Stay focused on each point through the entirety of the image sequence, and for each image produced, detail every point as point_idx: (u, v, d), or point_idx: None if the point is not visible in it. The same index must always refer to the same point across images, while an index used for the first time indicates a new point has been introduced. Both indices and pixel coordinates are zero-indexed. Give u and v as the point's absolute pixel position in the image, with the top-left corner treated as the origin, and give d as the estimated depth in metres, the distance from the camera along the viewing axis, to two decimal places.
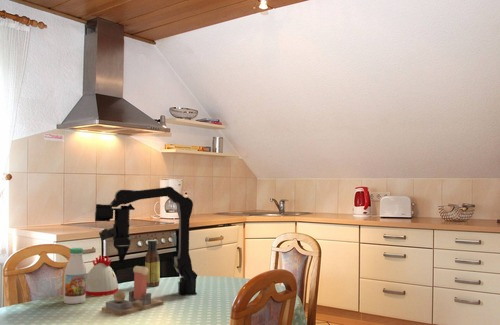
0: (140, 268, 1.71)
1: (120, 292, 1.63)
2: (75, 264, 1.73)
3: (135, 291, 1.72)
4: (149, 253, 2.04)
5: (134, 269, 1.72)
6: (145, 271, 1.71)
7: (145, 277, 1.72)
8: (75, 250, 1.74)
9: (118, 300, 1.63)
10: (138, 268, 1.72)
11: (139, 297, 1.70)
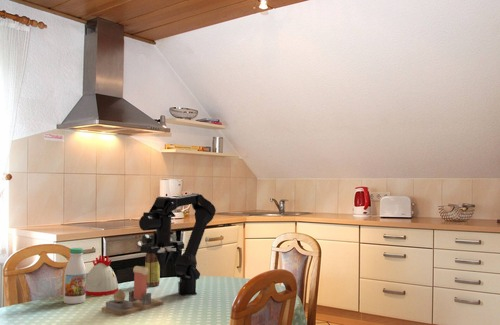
0: (140, 268, 1.71)
1: (120, 292, 1.63)
2: (75, 264, 1.73)
3: (135, 291, 1.72)
4: None
5: (134, 269, 1.72)
6: (145, 271, 1.71)
7: (145, 277, 1.72)
8: (75, 250, 1.74)
9: (118, 300, 1.63)
10: (138, 268, 1.72)
11: (139, 297, 1.70)
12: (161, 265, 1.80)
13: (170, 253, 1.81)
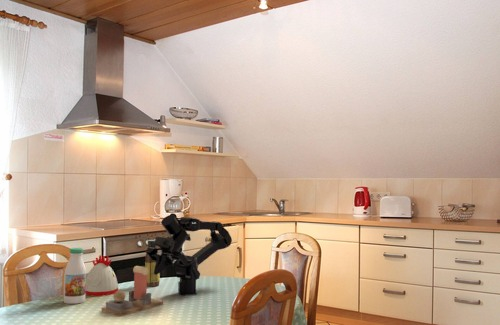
0: (140, 268, 1.71)
1: (120, 292, 1.63)
2: (75, 264, 1.73)
3: (135, 291, 1.72)
4: None
5: (134, 269, 1.72)
6: (145, 271, 1.71)
7: (145, 277, 1.72)
8: (75, 250, 1.74)
9: (118, 300, 1.63)
10: (138, 268, 1.72)
11: (139, 297, 1.70)
12: (159, 271, 1.79)
13: None
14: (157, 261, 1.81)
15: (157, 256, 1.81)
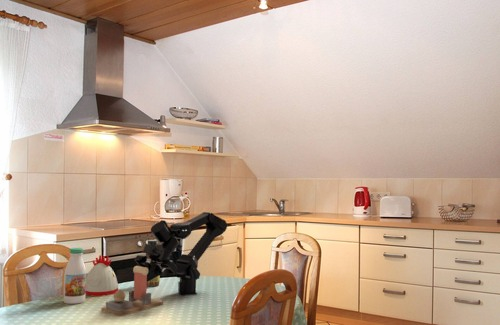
0: (140, 268, 1.71)
1: (120, 292, 1.63)
2: (75, 264, 1.73)
3: (135, 291, 1.72)
4: None
5: (134, 269, 1.72)
6: (145, 271, 1.71)
7: (145, 277, 1.72)
8: (75, 250, 1.74)
9: (118, 300, 1.63)
10: (138, 268, 1.72)
11: (139, 297, 1.70)
12: (147, 280, 1.74)
13: None
14: None
15: (146, 264, 1.77)
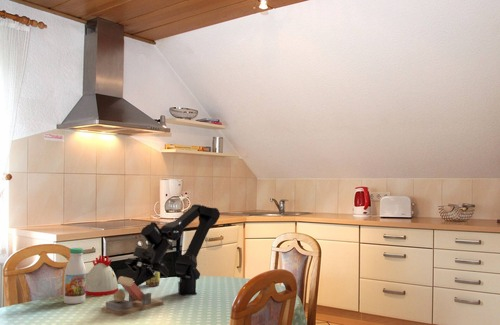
0: (124, 282, 1.65)
1: (120, 292, 1.63)
2: (75, 264, 1.73)
3: (132, 296, 1.71)
4: None
5: (119, 283, 1.67)
6: (130, 282, 1.65)
7: (133, 284, 1.67)
8: (75, 250, 1.74)
9: (118, 300, 1.63)
10: (122, 282, 1.65)
11: (139, 300, 1.70)
12: (138, 283, 1.70)
13: None
14: (137, 273, 1.72)
15: (137, 267, 1.73)
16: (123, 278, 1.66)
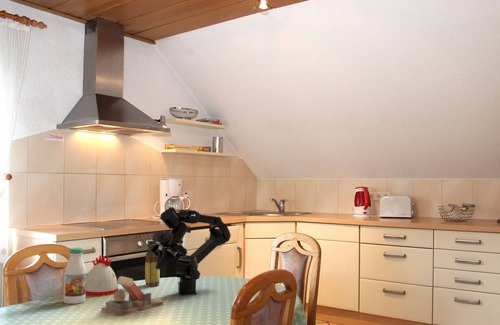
0: (124, 282, 1.65)
1: (120, 292, 1.63)
2: (75, 264, 1.73)
3: (132, 296, 1.71)
4: (149, 253, 2.04)
5: (119, 283, 1.67)
6: (130, 282, 1.65)
7: (133, 284, 1.67)
8: (75, 250, 1.74)
9: (118, 300, 1.63)
10: (122, 282, 1.65)
11: (139, 300, 1.70)
12: (160, 265, 1.79)
13: None
14: (158, 256, 1.82)
15: (158, 251, 1.82)
16: (123, 278, 1.66)
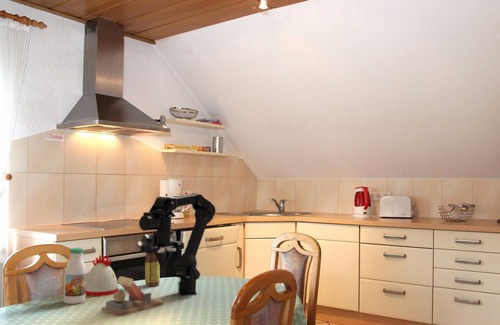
0: (124, 282, 1.65)
1: (120, 292, 1.63)
2: (75, 264, 1.73)
3: (132, 296, 1.71)
4: None
5: (119, 283, 1.67)
6: (130, 282, 1.65)
7: (133, 284, 1.67)
8: (75, 250, 1.74)
9: (118, 300, 1.63)
10: (122, 282, 1.65)
11: (139, 300, 1.70)
12: (161, 265, 1.80)
13: (170, 253, 1.81)
14: None
15: None
16: (123, 278, 1.66)
